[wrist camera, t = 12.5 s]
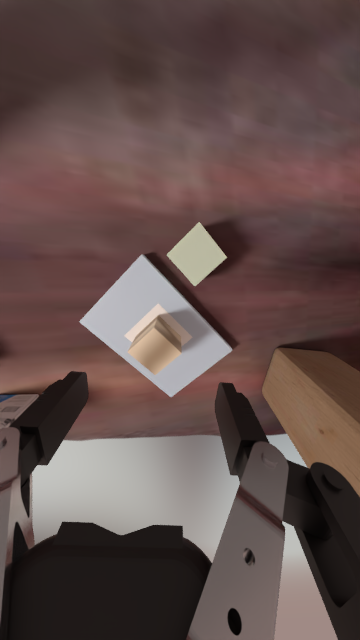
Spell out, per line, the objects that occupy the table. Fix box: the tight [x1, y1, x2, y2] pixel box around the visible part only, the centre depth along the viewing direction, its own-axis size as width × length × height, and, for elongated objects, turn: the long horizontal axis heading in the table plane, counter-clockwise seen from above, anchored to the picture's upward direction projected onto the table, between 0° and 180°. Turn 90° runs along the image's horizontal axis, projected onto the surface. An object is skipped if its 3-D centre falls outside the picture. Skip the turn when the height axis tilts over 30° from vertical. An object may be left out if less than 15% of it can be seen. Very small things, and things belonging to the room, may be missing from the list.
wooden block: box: [262, 347, 360, 497], centre depth 22 cm, size 10×10×20 cm
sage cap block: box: [167, 222, 227, 286], centre depth 23 cm, size 5×5×5 cm
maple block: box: [128, 315, 182, 375], centre depth 25 cm, size 5×5×5 cm
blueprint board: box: [79, 254, 232, 397], centre depth 28 cm, size 20×14×2 cm
